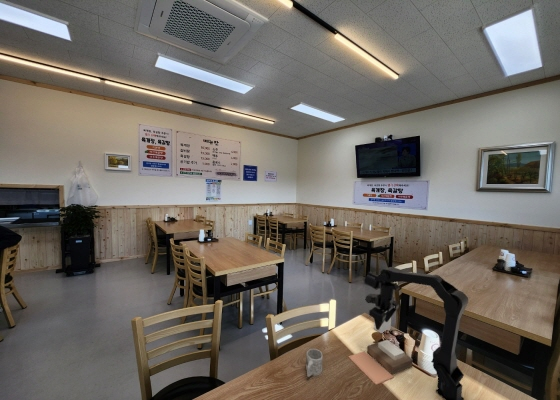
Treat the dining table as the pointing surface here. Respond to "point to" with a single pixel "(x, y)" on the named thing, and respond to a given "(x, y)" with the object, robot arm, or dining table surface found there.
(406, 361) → the brown rectangular block
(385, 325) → the jar
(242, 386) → the dining table surface
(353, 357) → the mat
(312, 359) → the mug
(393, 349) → the grey flat block
